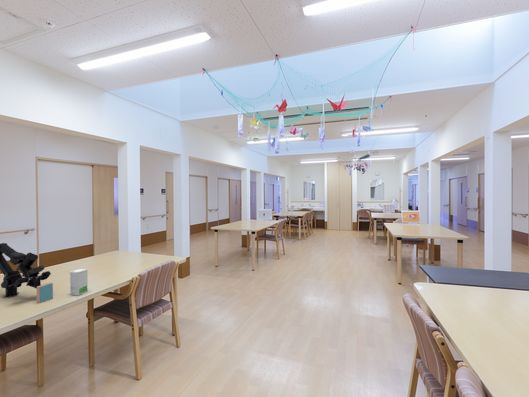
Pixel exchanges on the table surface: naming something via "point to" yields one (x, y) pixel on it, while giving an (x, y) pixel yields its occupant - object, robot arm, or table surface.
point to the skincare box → (78, 282)
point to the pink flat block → (44, 292)
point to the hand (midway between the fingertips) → (40, 289)
